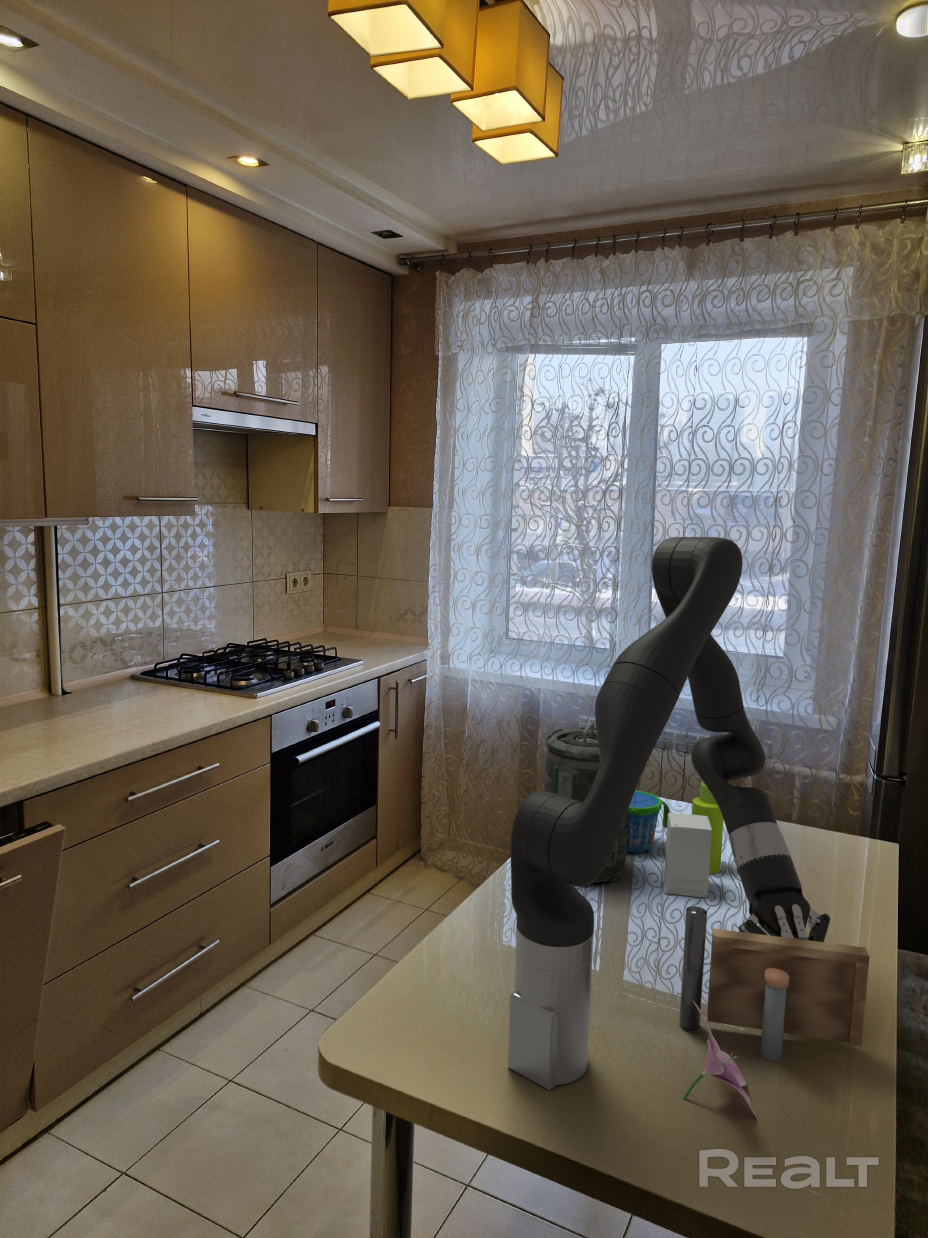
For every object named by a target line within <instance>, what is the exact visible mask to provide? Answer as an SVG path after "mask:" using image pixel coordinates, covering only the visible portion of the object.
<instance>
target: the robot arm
mask: <svg viewBox="0 0 928 1238" xmlns="http://www.w3.org/2000/svg"><path fill="white" fill-rule="evenodd" d="M743 560H744V559H743V554H742V550H741V549H740V547H739V546H738V544H737V543H736V542H735V541H733V540H731V539H729V538H725V537H717V536H674V537H667V538H665V539H663V540H662V541H661V542H659V544H658V545H657V547H656V548H655V551H654V553H653V555H652V560H651V577H652V583H653V587H654V591H655V593H656V597H657V598H658V599H657V600H658V601H659V605H660V606H661V609H662V613H664V617H665V619H663V620H662V621H661V622H660V623H658V624H656V625H655V626H654V627H653V628H651V629H650V630H648V631H647V632H645V633H644V634H643V635H641V636H639V637H638V638H637V639H636V640H635V641H634V642H633V641H632V642H631V644H630V645H628V646H627V647H626V648H625V649H624V650H623V651H622V652H620V654H619V655H618V656H617V658H616V659H615V661H614V663H613V664H612V666H611V668H610V670H609V672H608V674H607V675H606V677H605V679H604V681H603V683H602V685H601V687H600V688H599V691H598V693H597V695H596V699H595V704H594V716H595V717H594V721H595V728H596V729H597V736H598V743H599V752H600V760H599V767H598V771H597V774H596V777H595V780H594V782H593V785H592V787H591V789H590V791H589V793H588V795H587V797H586V799H585V800H584V801H583V802H580V801H577V800H573V799H570V798H567V797H564V796H561V795H558V794H554V793H551V792H547V791H545V790H539V791H538V790H537V791H535V792H532V793H530V794H528V795H527V796H526V797H525V798H524V799H523V800H522V802H521V803H520V805H519V806H518V808H517V810H516V812H515V816H514V819H513V822H512V826H511V833H510V884H511V885H510V889H511V890H510V892H511V894H510V895H511V903H512V907H513V910H514V912H515V914H516V923H515V925H516V927H515V928H516V931H515V932H516V933H515V952H514V953H515V954H514V956H515V957H514V981H513V982H514V985H513V986H514V987H513V992H511V994H510V995H509V1018H508V1019H509V1020H508V1022H509V1023H508V1024H509V1025H508V1047H507V1049H508V1050H507V1051H508V1052H507V1055H508V1056H507V1068H509V1069H511V1070H513V1071H515V1072H516V1073H518V1074H519V1075H522V1076H523V1077H524V1078H527V1079H529V1080H531V1081H532V1082H534V1083H536V1084H538V1085H540V1086H541V1087H543V1088H544V1089H546V1090H548V1091H549V1090H550V1091H551V1090H552V1089H553V1088H554V1087H555V1086H560V1085H566V1084H570V1083H573V1082H575V1081H577V1080H579V1079H580V1078H581V1077H582V1076H583V1075H584V1074H585V1073H586V1071H587V1069H588V1064H589V1063H588V1061H589V1041H590V1040H589V1039H590V1038H589V1037H590V1021H591V1020H590V1018H591V1016H590V1015H591V997H592V996H591V992H592V968H593V949H594V931H595V913H594V908H593V906H592V904H591V903H590V901H589V900H588V899H587V898H586V897H585V896H584V895H583V894H582V893H581V892H580V891H579V890H578V889H577V888H576V887H582V888H583V887H586V886H590V885H589V884H591V885H592V884H593V883H592V882H594V881H595V880H596V879H597V878H598V876H599V875H600V874H601V873H602V871H603V870H604V868H605V866H606V864H607V862H608V860H609V858H610V856H611V854H612V852H613V849H614V846H615V844H616V841H617V839H618V836H619V833H620V830H621V828H622V825H623V822H624V820H625V817H626V814H627V811H628V809H629V806H630V803H631V800H632V798H633V795H634V792H635V791H637V790H636V789H637V787H638V784H639V782H640V779H641V777H642V775H643V773H644V770H645V768H646V766H647V764H648V761H649V759H650V758H651V755H652V752H653V751H654V749H655V748H656V747H655V746H656V744H657V742H658V741H659V739H660V737H661V734H662V732H663V730H664V729H665V728H666V725H667V723H668V721H669V719H670V718H671V715H672V713H673V711H674V709H675V706H676V705H677V703H678V700H679V698H680V696H681V694H682V691H683V688H684V686H685V684H686V681H687V679H688V684H689V689H690V693H691V694H690V695H691V698H692V703H693V708H694V709H693V710H694V714H695V718H696V720H697V723H698V725H699V726H700V727H701V728H702V729H703V730H705V731H707V732H711V733H721V734H718V735H714V736H713V735H712V736H709V737H705V738H704V737H703V738H700V739H698V740H697V741H696V742H695V743H694V745H693V747H692V750H691V761H692V765H693V768H694V769H695V771H696V772H697V774H698V776H699V777H700V779H701V780H702V782H704V783H705V785H706V786H707V788H708V789H709V791H710V792H711V794H712V795H713V797H714V799H715V800H716V802H717V804H718V806H719V809H720V811H721V814H722V816H723V819H724V822H723V823H724V825H725V828H726V832H727V833H728V839H729V841H730V848H731V852H732V856H733V861H734V865H735V867H736V869H737V872H738V875H739V879H740V882H741V886H742V888H743V891H744V894H745V898H746V899H747V900H748V903H749V906H748V913H749V917H748V918H747V919H746V920H745V921H744V922H743V923H741V924H740V925H739V926H738V932H745V933H753V934H761V935H769V936H777V937H785V938H793V939H801V940H809V941H817V942H825V939H826V936H827V932H828V929H829V926H830V923H831V917H830V915H829V914H827V913H823V914H820V913H818V912H817V911H816V910H814V909H813V908H811V904H810V902H809V901H808V900H807V899H806V897H805V896H804V894H803V888H802V884H801V880H800V878H799V875H798V872H797V869H796V867H795V864H794V862H793V859H792V856H791V853H790V849H789V847H788V844H787V842H786V840H785V837H784V835H783V834H782V831H781V829H780V827H779V824H778V821H777V819H776V816H775V814H774V811H773V808H772V806H771V802H770V799H769V797H768V795H767V793H766V792H765V791H764V790H763V789H761V788H758V787H749V786H747V787H746V786H736V785H733V784H730V783H729V782H730V781H735V780H739V779H740V780H741V779H743V778H749V777H754V776H756V775H758V774H759V773H761V772H762V770H763V769H764V766H765V764H766V754H765V749H764V747H763V745H762V742H760V740H759V738H758V736H757V735H756V733H755V730H754V729H753V727H752V726H751V724H750V721H749V719H748V716H747V714H746V710H745V706H744V701H743V700H744V699H743V695H742V689H741V684H740V679H739V675H738V672H737V669H736V667H735V665H734V664H733V662H732V660H731V659H730V657H729V656H728V654H727V653H726V652H725V650H724V649H723V647H722V646H721V645H720V643H718V641H717V640H716V639H715V638H714V636H713V635H712V634H711V633H712V631H713V630H714V629H715V627H716V626H717V624H718V622H719V620H720V619H721V617H722V616H723V614H724V612H725V611H726V610H727V608H728V606H729V605H730V603H731V601H732V599H733V597H734V596H735V593H736V591H737V589H738V588H739V587H738V586H739V584H740V581H741V578H742V573H743V564H744V563H743V562H744V561H743ZM722 733H723V734H722ZM728 781H729V782H728ZM807 924H808V928H809V929H810V930H809V934H808V933H807V930H806V927H807Z"/></svg>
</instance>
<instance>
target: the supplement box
mask: <svg viewBox="0 0 928 1238" xmlns="http://www.w3.org/2000/svg"><path fill="white" fill-rule="evenodd" d="M711 837H712V828H711V825H710V822H709V819H708V816H701V815H692V814H688V813H674V812H670V813H668V820H667V828H666V839H665V840H666V841H665V855H664V857H665V858H664V859H665V860H664V871H663V872H664V873H663V878H664V886H665V893H666V894H671V895H677V896H684V897H685V896H686V897H695V898H705V899H707V898H708V896H709V882H710V874H709V869H710V852H711Z"/></svg>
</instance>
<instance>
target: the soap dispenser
mask: <svg viewBox="0 0 928 1238" xmlns="http://www.w3.org/2000/svg"><path fill="white" fill-rule="evenodd" d="M699 787H700V788H699V796H697V797H694V798H692V803H691V805H692V806H691V815H701V816H708V819H709V822H710V825H711V828H712V837H711V852H710V869H709V875H715V874H717V873H720V872H721V866H722V865H721V864H722V849H723V837H724V836H723V835H724V834H723V833H724V823H725V822H724V819H723V816H722V814H721V811H720V809H719V806H718V804H717V802H716V800H715V799H714V797H713V795H712V794H711V792H710V791H709V789H708V788H707V786H706V785H705V783H704V782H703V781H701V782H700V785H699Z"/></svg>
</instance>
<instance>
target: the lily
mask: <svg viewBox="0 0 928 1238" xmlns="http://www.w3.org/2000/svg"><path fill="white" fill-rule="evenodd" d="M693 1002H694V1001H693ZM694 1004H695V1002H694ZM695 1006H696V1007H697V1009H698V1011H699V1012H700V1014H701V1016H700V1017H702V1019H703V1021H704V1023H705V1025H706V1029H707V1031H708V1039H707V1040H706V1044H707V1053H706V1061H705V1068H704V1070H703V1072H702V1073H701V1074H700V1075H699V1076H698V1077H697V1078H696V1079H695V1080H694V1081H693V1082H692V1084H691V1085H690V1086H689V1088H688V1089H687V1092H686V1093H685V1094H684V1096H683V1097H682V1098H683V1100H687V1098H688V1097H689V1095H690V1093H691V1092H692V1091H693V1089H694V1088H695V1086H696V1084H697V1083H699V1082H700V1080H702V1079H703V1078H704V1077H705V1076H707V1075H710V1076H711V1077H715V1078H716V1079H720V1080H721V1081H723V1082H725V1083H727V1084H729V1085H730V1086H731V1087H733V1088H734V1089H736V1091H737V1092H738V1093H739V1094H740V1095H741V1096H742V1098H743V1099H744V1100H745V1102H746V1103H747V1105H748V1107H749V1108H750V1110H751V1111H752V1113H753V1115H754V1117H755V1118H757V1116H756V1112H755V1110H754V1109H753V1107H752V1101H751V1099H750V1097H749V1095H748V1094H747V1093H746V1091H745V1090H744V1089H743V1087H745V1086H746V1085H747V1081H746V1079H745V1077H744V1076H743V1074H742V1072H741V1070H740V1069H739V1067H738V1066H737V1065H738V1064H737V1063H738V1061H734V1059H738V1058H740V1056H738V1055H735V1056H732V1055H734V1051H732V1052H731V1054H730V1055H729V1054H728V1053H727V1052H725V1051H723V1050H721V1048H720V1047H719V1045H718V1043H717V1041H716V1039H715V1038H714V1035H713V1034H712V1030H711V1026H710V1025H709V1022H708V1019H707V1018H706V1017H705V1015H704V1014H703V1012H702V1009H701V1010H700V1009H699V1008H698V1006H697V1005H696V1004H695ZM731 1056H732V1057H731Z"/></svg>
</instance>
